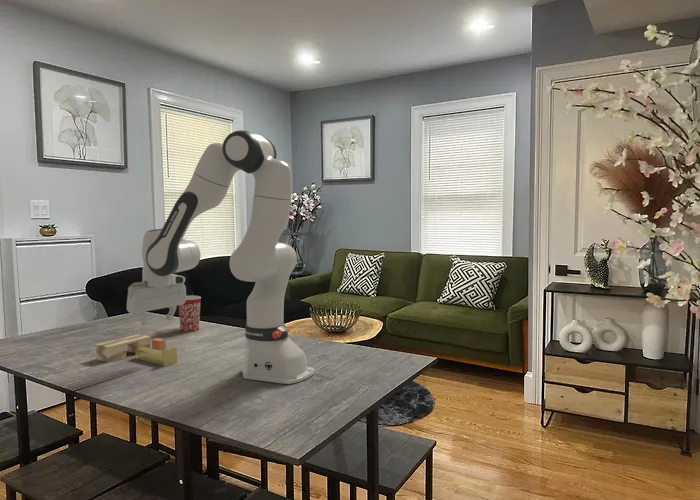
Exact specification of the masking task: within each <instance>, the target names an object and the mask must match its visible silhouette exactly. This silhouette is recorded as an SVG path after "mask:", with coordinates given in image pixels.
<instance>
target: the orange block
mask: <svg viewBox="0 0 700 500" xmlns="http://www.w3.org/2000/svg"><path fill="white" fill-rule="evenodd" d="M151 349H156V350H161V351H163V350H167V348H166V339H164V338H159V337H156V338H153V339H151Z"/></svg>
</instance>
